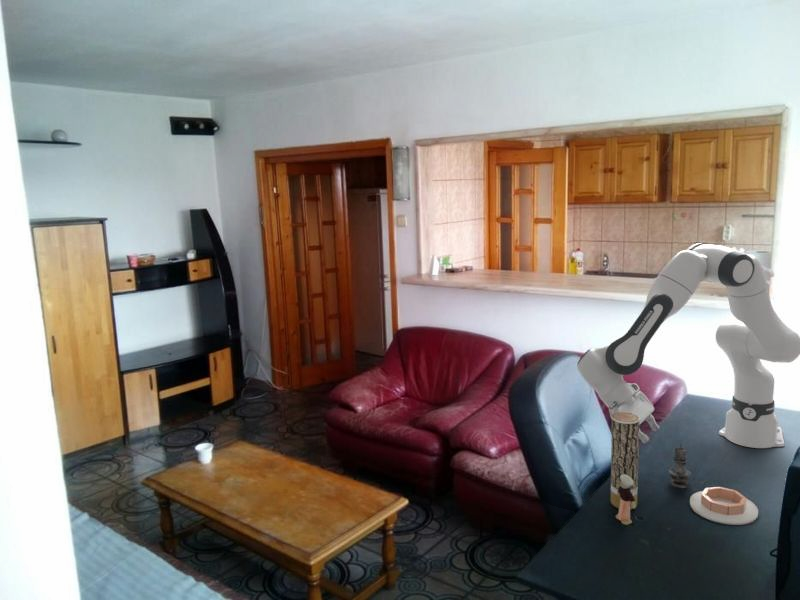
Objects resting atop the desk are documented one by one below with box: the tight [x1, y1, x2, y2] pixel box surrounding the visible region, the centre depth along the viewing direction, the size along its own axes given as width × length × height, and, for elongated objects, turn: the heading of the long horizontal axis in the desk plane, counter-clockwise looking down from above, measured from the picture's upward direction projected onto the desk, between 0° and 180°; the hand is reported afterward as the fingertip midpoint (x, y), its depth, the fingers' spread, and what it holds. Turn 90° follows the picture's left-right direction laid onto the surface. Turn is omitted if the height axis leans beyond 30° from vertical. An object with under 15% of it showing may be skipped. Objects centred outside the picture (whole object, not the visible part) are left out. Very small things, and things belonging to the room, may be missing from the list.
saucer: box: [689, 486, 759, 526], centre depth 165 cm, size 16×16×4 cm
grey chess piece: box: [668, 444, 692, 489], centre depth 178 cm, size 6×6×12 cm
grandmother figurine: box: [615, 474, 637, 526], centre depth 160 cm, size 8×4×13 cm, turn 23°
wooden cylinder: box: [610, 412, 640, 510], centre depth 167 cm, size 7×7×25 cm
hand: (652, 435), depth 182 cm, fingers open, 8 cm apart
